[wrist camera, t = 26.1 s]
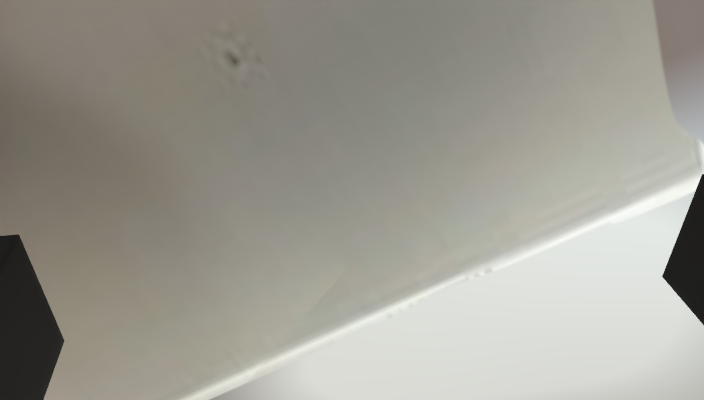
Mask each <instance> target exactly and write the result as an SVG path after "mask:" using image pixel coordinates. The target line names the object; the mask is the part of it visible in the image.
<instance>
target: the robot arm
mask: <svg viewBox="0 0 704 400" xmlns="http://www.w3.org/2000/svg"><path fill="white" fill-rule="evenodd" d="M663 278H664V279H665V280H666V281H667V283H668V284H669V285H670V286H671V287H672V288H673V290H674V291H675V292H676V293H677V294H678V295H679V297H680V298H681V299H682V300H683V301H684V302H685V303H686V305H687V306H688V307H689V308H690V309H691V311H692V312H693V313H694V314H695V315H696V316H697V318H698V319H699V320H700V321H701V322H702V323H703V325H704V174H702V176H701V179H700V182H699V184H698V187H697V189H696V192H695V194H694V197H693V199H692V202H691V205H690V207H689V210H688V212H687V215H686V218H685V220H684V222H683V225H682V228H681V230H680V233H679V236H678V238H677V241H676V243H675V246H674V248H673V251H672V254H671V256H670V258H669V261H668V263H667V266H666V269H665V271H664V274H663ZM63 343H64V339H63V337H62V334H61V332H60V330H59V327H58V325H57V323H56V320H55V318H54V316H53V313H52V311H51V309H50V306H49V304H48V302H47V299H46V297H45V295H44V292H43V290H42V288H41V285H40V283H39V281H38V278H37V276H36V274H35V271H34V269H33V267H32V264H31V262H30V260H29V257H28V255H27V253H26V250H25V248H24V246H23V243H22V241H21V239H20V236H19V235H8V236H0V400H43V399H44V396H45V393H46V391H47V388H48V385H49V382H50V379H51V377H52V374H53V371H54V368H55V365H56V363H57V360H58V357H59V354H60V351H61V348H62V346H63Z"/></svg>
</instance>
